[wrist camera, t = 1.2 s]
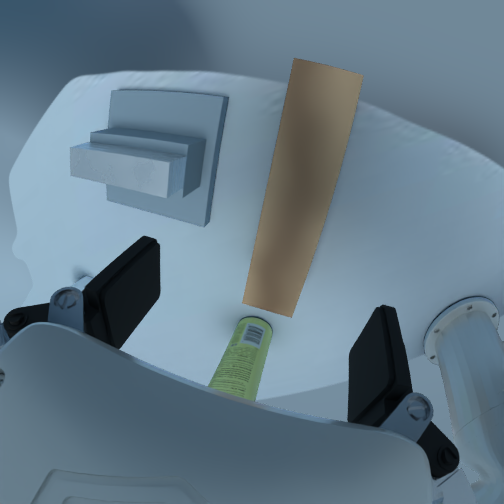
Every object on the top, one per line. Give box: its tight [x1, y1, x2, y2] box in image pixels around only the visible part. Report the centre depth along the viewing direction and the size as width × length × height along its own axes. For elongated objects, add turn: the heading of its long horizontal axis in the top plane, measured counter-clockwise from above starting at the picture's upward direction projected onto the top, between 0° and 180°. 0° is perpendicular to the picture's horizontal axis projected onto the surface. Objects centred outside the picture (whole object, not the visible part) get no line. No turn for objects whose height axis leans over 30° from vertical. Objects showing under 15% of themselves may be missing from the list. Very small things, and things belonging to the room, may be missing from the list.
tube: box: [208, 317, 272, 401], centre depth 30 cm, size 6×5×20 cm
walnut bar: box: [242, 58, 363, 318], centre depth 24 cm, size 5×22×7 cm, turn 170°
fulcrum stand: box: [70, 90, 229, 227], centre depth 25 cm, size 14×14×8 cm
